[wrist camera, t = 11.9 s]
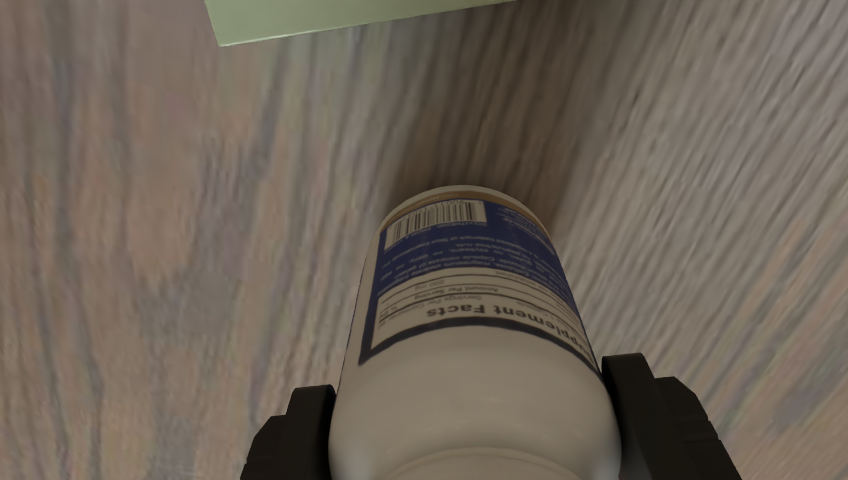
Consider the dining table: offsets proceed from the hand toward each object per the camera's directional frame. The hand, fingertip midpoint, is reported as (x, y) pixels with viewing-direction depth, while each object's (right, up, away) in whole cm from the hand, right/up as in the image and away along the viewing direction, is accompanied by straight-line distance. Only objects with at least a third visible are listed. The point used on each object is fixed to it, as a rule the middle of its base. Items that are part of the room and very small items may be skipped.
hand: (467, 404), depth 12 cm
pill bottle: (0, +3, +5) cm, 6 cm away
